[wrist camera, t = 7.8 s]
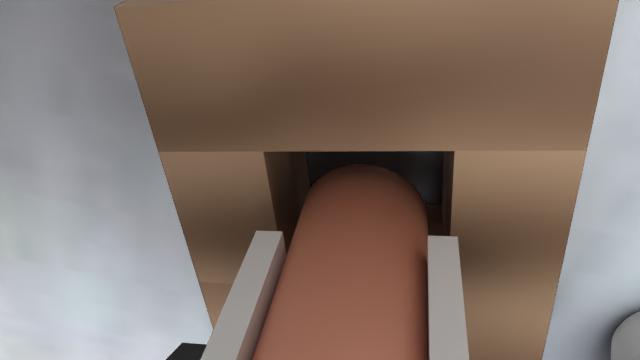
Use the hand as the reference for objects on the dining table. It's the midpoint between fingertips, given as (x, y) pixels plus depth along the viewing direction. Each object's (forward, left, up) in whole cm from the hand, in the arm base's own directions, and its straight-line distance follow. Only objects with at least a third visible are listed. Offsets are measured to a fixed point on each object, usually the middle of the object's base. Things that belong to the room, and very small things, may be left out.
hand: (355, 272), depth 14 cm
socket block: (+2, 0, -7) cm, 7 cm away
